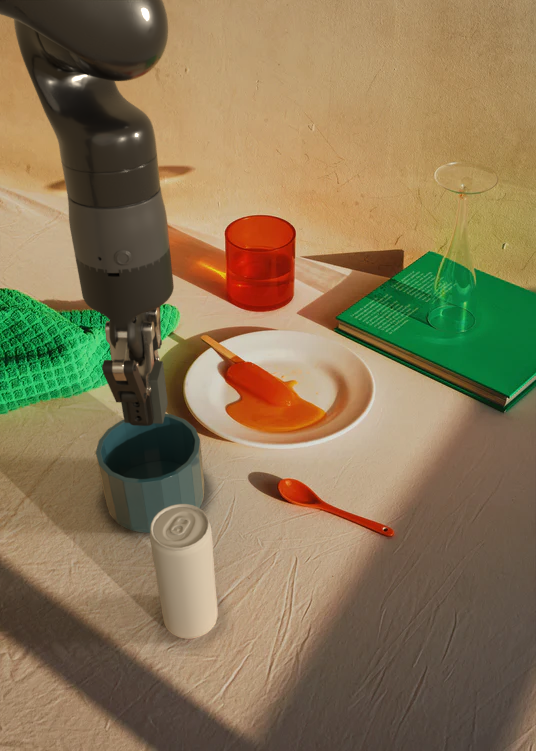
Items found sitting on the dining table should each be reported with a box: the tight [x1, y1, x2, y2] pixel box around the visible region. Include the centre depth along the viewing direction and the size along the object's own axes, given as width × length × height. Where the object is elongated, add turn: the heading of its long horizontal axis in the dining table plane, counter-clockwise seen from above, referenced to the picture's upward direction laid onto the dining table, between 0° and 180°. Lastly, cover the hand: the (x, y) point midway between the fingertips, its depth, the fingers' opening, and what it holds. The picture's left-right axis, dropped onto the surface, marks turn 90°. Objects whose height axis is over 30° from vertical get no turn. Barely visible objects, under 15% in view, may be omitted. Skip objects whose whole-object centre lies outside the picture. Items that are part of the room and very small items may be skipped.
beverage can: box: [149, 504, 219, 640], centre depth 61 cm, size 5×5×12 cm
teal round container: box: [95, 413, 205, 534], centre depth 74 cm, size 10×10×7 cm
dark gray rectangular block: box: [120, 360, 169, 424], centre depth 68 cm, size 3×4×5 cm
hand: (145, 410), depth 69 cm, fingers closed on dark gray rectangular block, 3 cm apart
